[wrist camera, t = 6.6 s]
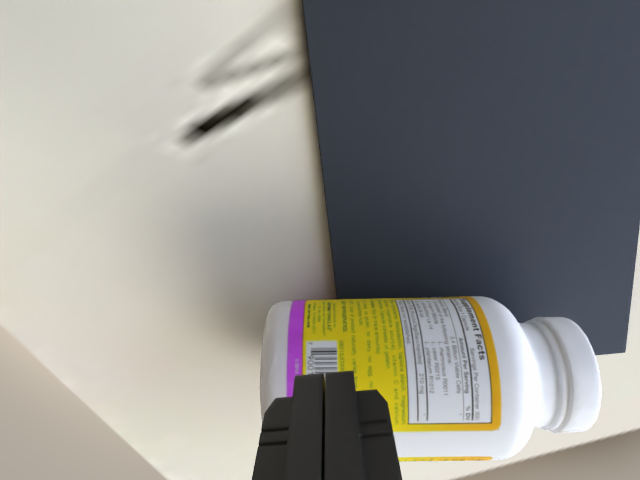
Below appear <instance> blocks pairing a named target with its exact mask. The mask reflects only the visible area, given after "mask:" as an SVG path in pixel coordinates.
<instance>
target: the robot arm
mask: <svg viewBox="0 0 640 480" xmlns="http://www.w3.org/2000/svg"><path fill="white" fill-rule="evenodd" d="M261 430H262V433H261V434H260V439H259V447H258V450H257V455H256V460H255V466H254V471H253V476H252V480H402V476H401V471H400V466H399V460H398V455H397V450H396V444H395V439H394V434H393V428H392V423H391V418H390V412H389V407H388V402H387V401H386V400H385V399H384V397H383V396H382V395H381V394H380V393H379V392H378V390H377V389H374V390H362V391H356V388H355V379H354V370H353V371H341V372H329V373H325V378H324V373H319V374H308V375H296V376H295V378H294V387H293V396H292V397H280V398H275V399H274V401H273V402H272V403H271V405H270V406H269V407H268V409H267V410H266V412H265V413H264V418H263V424H262V429H261Z"/></svg>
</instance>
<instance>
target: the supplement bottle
mask: <svg viewBox="0 0 640 480" xmlns="http://www.w3.org/2000/svg"><path fill="white" fill-rule="evenodd" d="M353 370H354V379H355V388H356V391H362V390H374V389H377V390H378V392H379V393H380V394H381V395H382V396H383V397H384V399H385V400H386V401H387V402H388V407H389V412H390V418H391V423H392V428H393V434H394V439H395V444H396V450H397V455H398V460H399V461H463V460H501V459H506V458H509V457H511V456H513V455H515V454H516V453H517V452H519V451H520V450H521V449H522V448H523V446H524V445H525V444H526V442H527V441H528V439H529V437H530V435H531V432H532V430H533V427H540V428H541V429H544V430H549V431H551V432H554V433H562V432H581V431H585V430H587V429H589V428H590V427H591V426H592V425H593V424H594V422H595V421H596V419H597V416H598V413H599V409H600V404H601V380H600V373H599V367H598V363H597V359H596V357H595V354H594V351H593V349H592V346H591V344H590V342H589V340H588V338H587V336H586V335H585V333H584V332H583V331H582V329H581V328H580V327H579V326H578V325H577V324H576V323H575V322H573V321H572V320H570V319H568V318H564V317H535V318H533V319H531V320H528V321H526V322H524V323H518V322H517V320H516V318H515V317H514V316H513V314H512V313H511V312H510V311H509V310H508V309H507V308H506V307H505V306H503V305H502V304H500V303H499V302H497V301H495V300H493V299H491V298H487V297H482V296H460V297H430V298H380V299H332V300H297V301H282V302H278V303H276V304H275V305H273V306H272V308H271V309H270V310H269V312H268V315H267V318H266V322H265V327H264V337H263V345H262V355H261V371H260V400H261V414H262V424H263V418H264V413H265V412H266V410H267V409H268V407H269V406H270V405H271V403H272V402H273V401H274V399H275V398H280V397H292V396H293V387H294V378H295V376H296V375H308V374H319V373H324V378H325V373H329V372H341V371H353Z"/></svg>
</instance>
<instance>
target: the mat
mask: <svg viewBox="0 0 640 480" xmlns="http://www.w3.org/2000/svg"><path fill="white" fill-rule="evenodd" d="M302 2H303V10H304V19H305V28H306V36H307V45H308V53H309V62H310V70H311V79H312V87H313V96H314V105H315V113H316V122H317V130H318V139H319V147H320V156H321V165H322V173H323V182H324V190H325V199H326V207H327V216H328V224H329V233H330V242H331V250H332V259H333V267H334V276H335V284H336V293H337V299H380V298H430V297H460V296H482V297H487V298H491V299H493V300H495V301H497V302H499V303H500V304H502V305H503V306H505V307H506V308H507V309H508V310H509V311H510V312H511V313H512V314H513V316H514V317H515V318H516V320H517V322H518V323H524V322H526V321H528V320H531V319H533V318H535V317H564V318H568V319H570V320H572V321H573V322H575V323H576V324H577V325H578V326H579V327H580V328H581V329H582V331H583V332H584V333H585V335H586V336H587V338H588V340H589V342H590V344H591V346H592V349H593V351H594V354H595V355H602V354H613V353H624V352H625V350H626V341H627V332H628V323H629V314H630V306H631V297H632V288H633V279H634V270H635V262H636V253H637V244H638V235H639V226H640V0H302Z"/></svg>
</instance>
